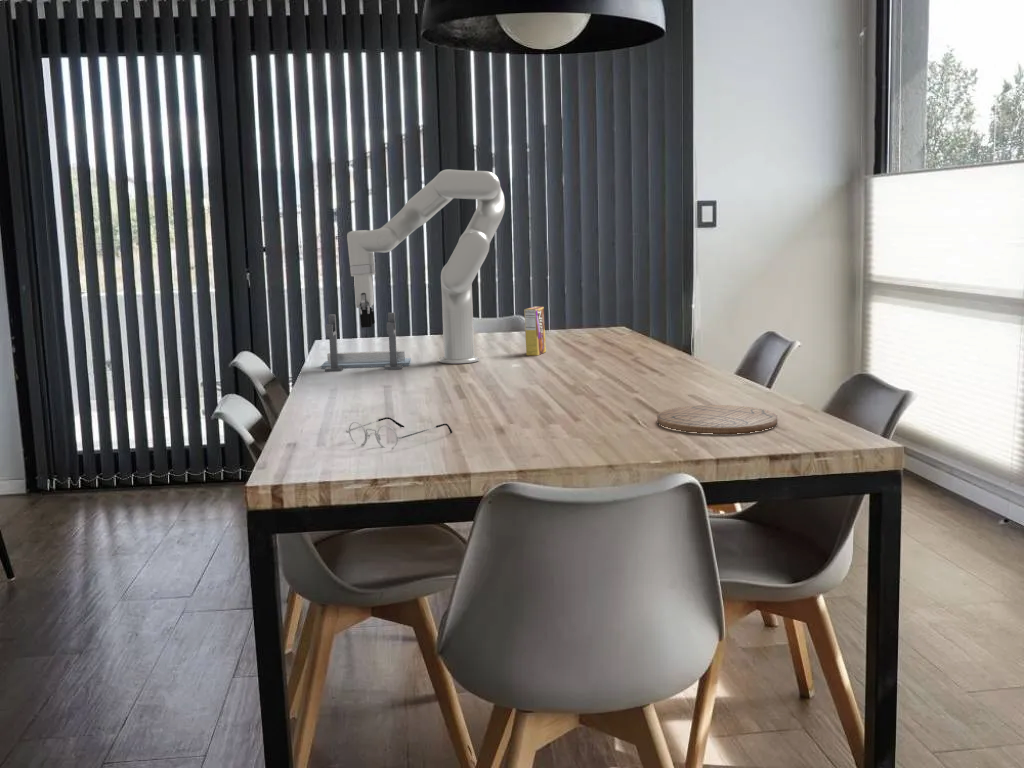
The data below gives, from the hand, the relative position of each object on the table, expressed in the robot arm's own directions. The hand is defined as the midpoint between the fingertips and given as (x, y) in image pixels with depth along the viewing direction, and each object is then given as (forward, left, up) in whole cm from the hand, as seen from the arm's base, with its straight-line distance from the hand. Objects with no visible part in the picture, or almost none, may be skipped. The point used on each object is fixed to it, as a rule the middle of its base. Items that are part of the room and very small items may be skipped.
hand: (368, 325), depth 319 cm
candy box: (-13, +53, -13) cm, 56 cm away
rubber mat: (0, -1, -12) cm, 12 cm away
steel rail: (0, -1, -11) cm, 11 cm away
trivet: (+109, +84, -13) cm, 138 cm away
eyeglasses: (+112, +17, -13) cm, 114 cm away
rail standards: (+10, -1, -12) cm, 16 cm away
